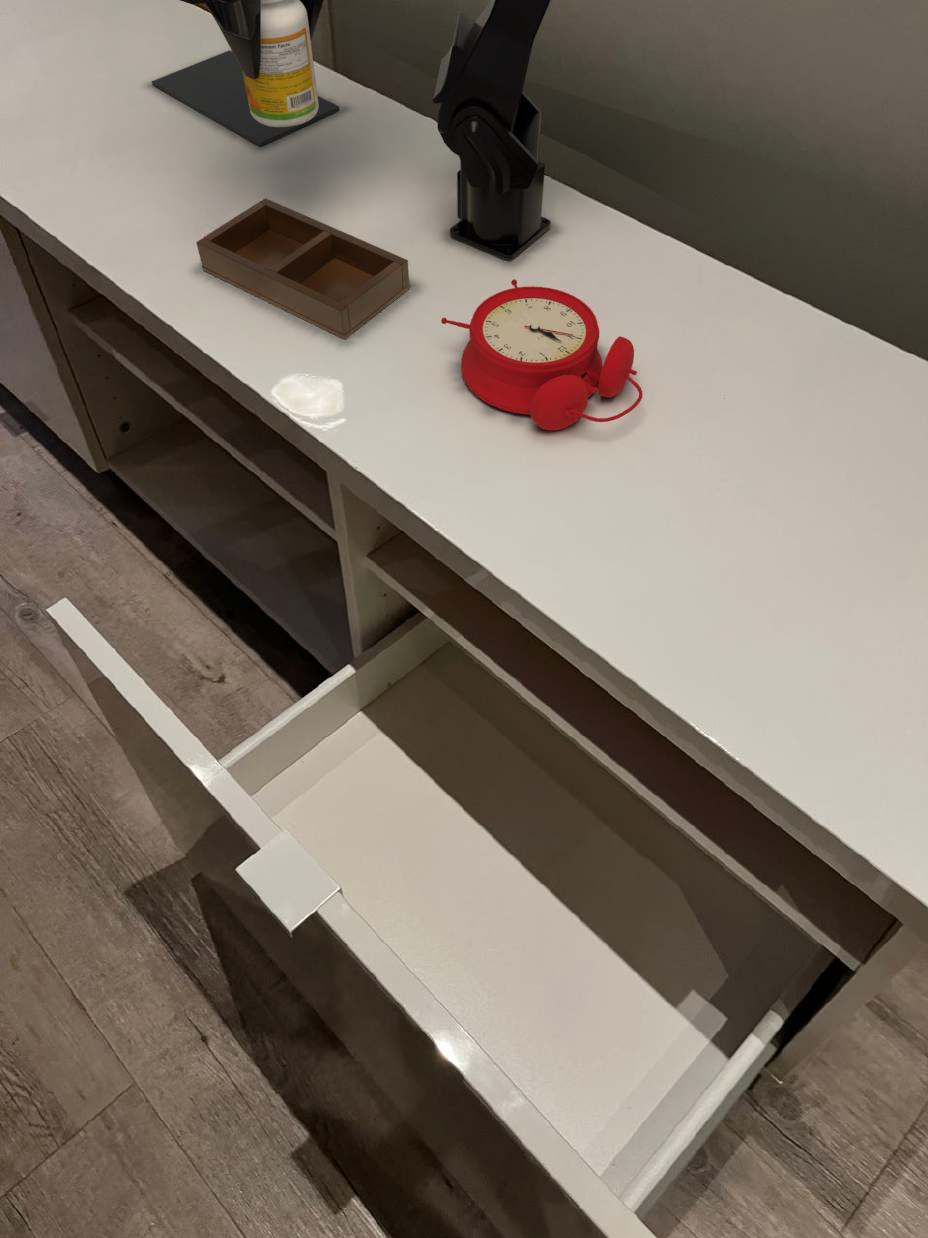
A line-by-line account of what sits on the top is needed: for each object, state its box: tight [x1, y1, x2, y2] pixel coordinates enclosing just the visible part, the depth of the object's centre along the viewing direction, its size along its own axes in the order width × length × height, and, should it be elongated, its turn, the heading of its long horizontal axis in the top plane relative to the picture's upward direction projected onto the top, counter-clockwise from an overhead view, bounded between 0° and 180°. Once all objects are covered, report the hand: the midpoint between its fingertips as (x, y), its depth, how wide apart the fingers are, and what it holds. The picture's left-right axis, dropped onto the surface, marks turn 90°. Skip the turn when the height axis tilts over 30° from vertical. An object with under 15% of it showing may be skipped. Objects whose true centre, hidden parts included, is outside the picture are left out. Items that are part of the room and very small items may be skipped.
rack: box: [195, 197, 410, 340], centre depth 74 cm, size 8×15×3 cm, turn 54°
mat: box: [151, 49, 340, 148], centre depth 94 cm, size 18×10×1 cm, turn 45°
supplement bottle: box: [243, 0, 319, 127], centre depth 69 cm, size 5×5×10 cm
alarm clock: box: [440, 278, 644, 431], centre depth 66 cm, size 10×6×15 cm
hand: (277, 62), depth 70 cm, fingers closed on supplement bottle, 5 cm apart
